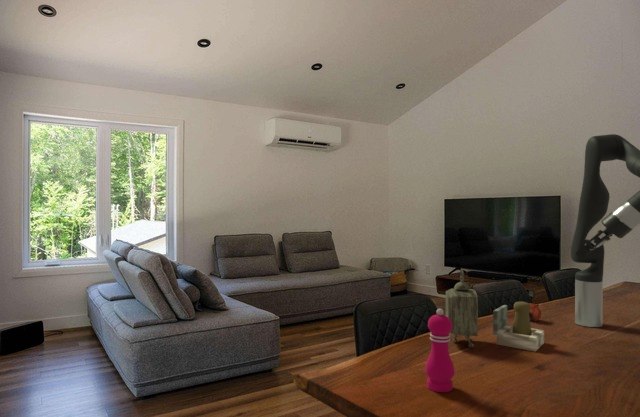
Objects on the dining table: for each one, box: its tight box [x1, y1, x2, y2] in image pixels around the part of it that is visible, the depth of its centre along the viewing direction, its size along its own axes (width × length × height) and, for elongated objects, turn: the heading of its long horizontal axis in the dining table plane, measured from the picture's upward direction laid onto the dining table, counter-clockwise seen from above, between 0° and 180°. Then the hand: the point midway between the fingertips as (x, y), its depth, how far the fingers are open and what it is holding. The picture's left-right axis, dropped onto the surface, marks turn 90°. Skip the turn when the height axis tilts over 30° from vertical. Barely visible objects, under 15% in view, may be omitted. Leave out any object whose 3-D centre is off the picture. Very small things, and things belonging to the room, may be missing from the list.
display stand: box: [492, 304, 545, 353], centre depth 151 cm, size 12×13×11 cm
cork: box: [512, 301, 532, 336], centre depth 150 cm, size 6×6×11 cm
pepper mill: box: [424, 308, 456, 393], centre depth 114 cm, size 7×7×20 cm
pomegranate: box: [528, 302, 542, 322], centre depth 181 cm, size 7×7×10 cm
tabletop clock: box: [445, 268, 479, 349], centre depth 151 cm, size 14×9×25 cm, turn 168°
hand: (580, 254), depth 144 cm, fingers open, 8 cm apart
